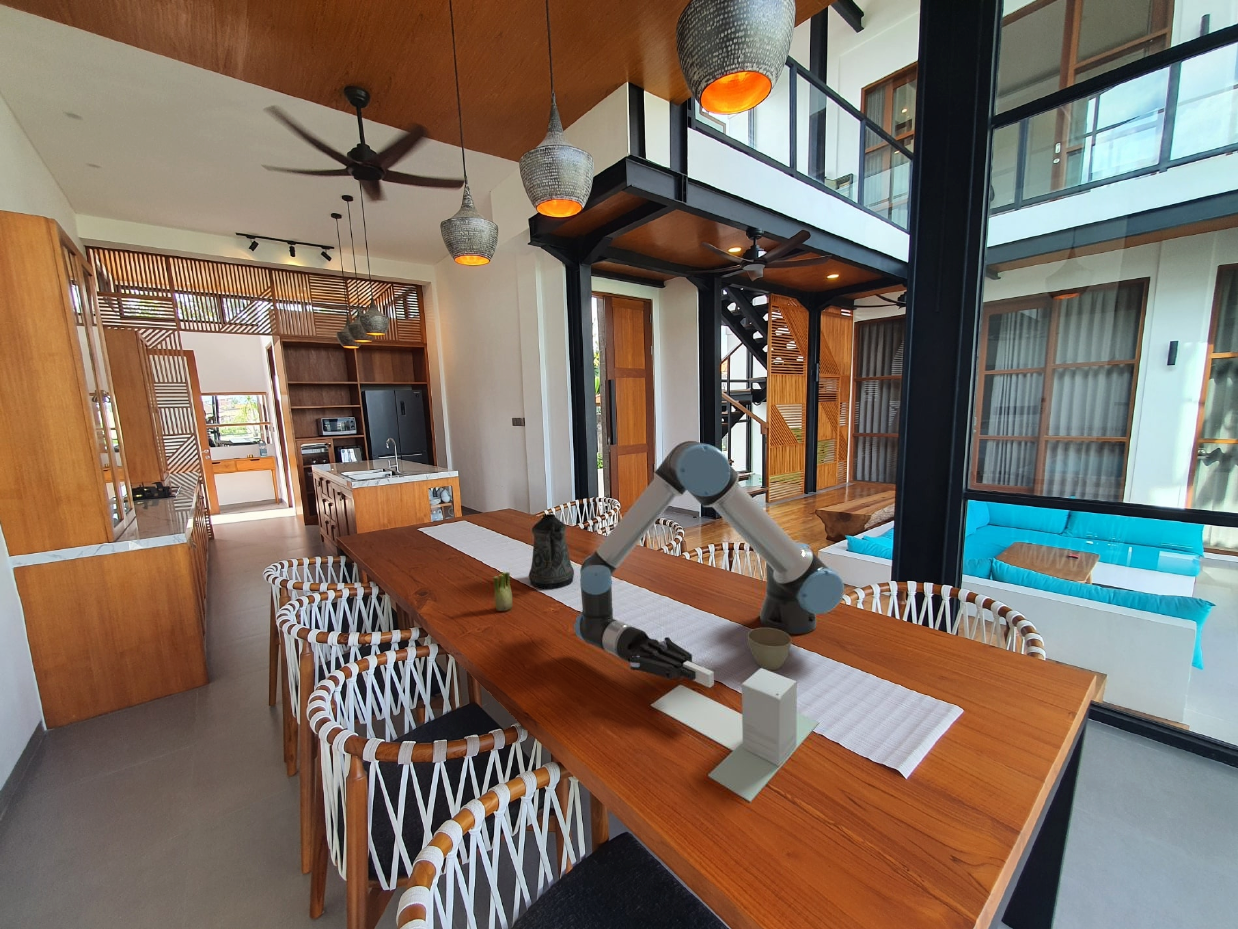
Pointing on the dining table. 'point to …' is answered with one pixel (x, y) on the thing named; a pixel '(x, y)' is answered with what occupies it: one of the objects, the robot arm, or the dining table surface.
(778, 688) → the supplement box
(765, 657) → the flower pot
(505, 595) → the fennel bulb
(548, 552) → the beer stein
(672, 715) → the t mat
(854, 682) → the dining table surface
